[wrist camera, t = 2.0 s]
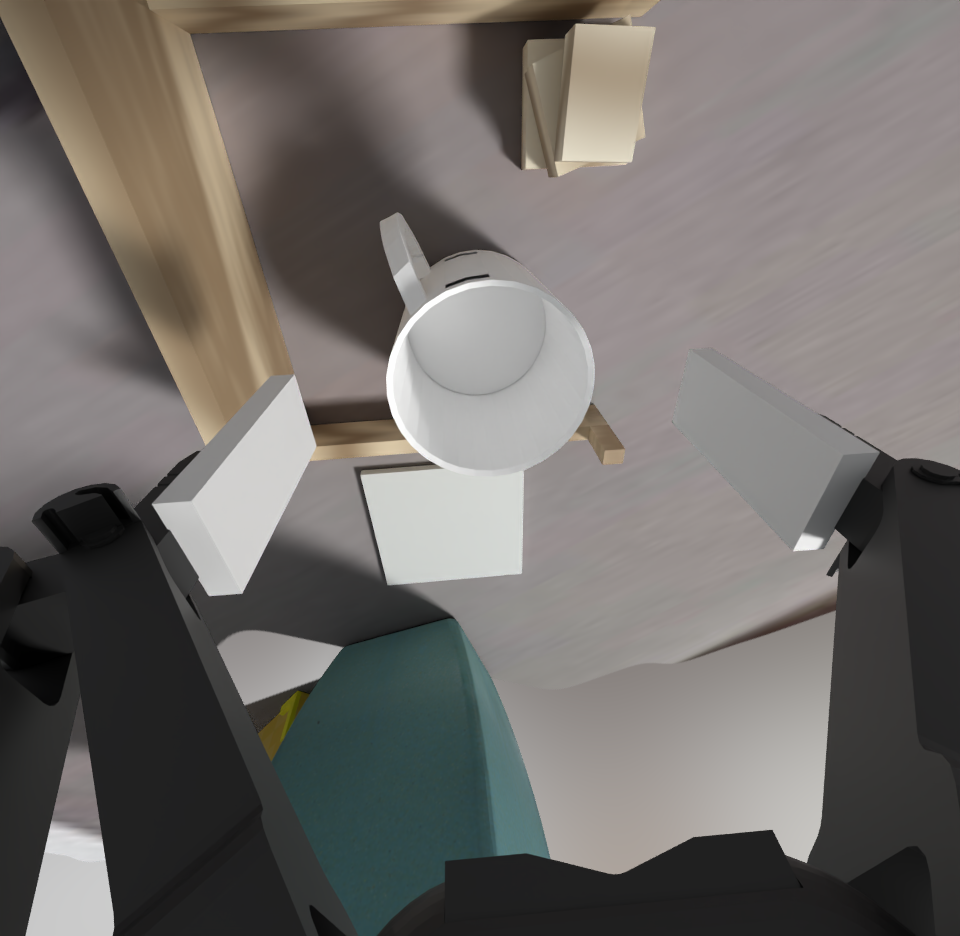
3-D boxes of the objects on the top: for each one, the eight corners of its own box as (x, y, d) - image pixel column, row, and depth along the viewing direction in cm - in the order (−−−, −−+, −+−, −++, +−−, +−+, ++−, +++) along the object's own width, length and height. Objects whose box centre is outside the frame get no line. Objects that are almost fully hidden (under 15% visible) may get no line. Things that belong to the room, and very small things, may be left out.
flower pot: (281, 632, 41) (66, 1234, 17) (475, 577, 38) (528, 1185, 15) (374, 722, 52) (319, 1165, 28) (530, 683, 49) (609, 1131, 26)
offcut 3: (619, 162, 19) (631, 161, 18) (553, 161, 19) (562, 160, 17) (639, 38, 17) (655, 27, 15) (565, 35, 16) (575, 23, 15)
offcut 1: (519, 170, 22) (525, 169, 20) (520, 52, 20) (528, 39, 18) (612, 166, 22) (626, 164, 21) (626, 48, 20) (643, 35, 18)
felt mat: (388, 580, 38) (387, 585, 37) (361, 470, 31) (360, 475, 30) (520, 568, 38) (521, 573, 38) (522, 457, 31) (523, 462, 31)
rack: (294, 439, 29) (219, 570, 19) (147, 0, 17) (-246, -245, 7) (592, 417, 30) (667, 532, 20) (645, -17, 18) (889, -260, 8)
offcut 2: (548, 177, 21) (558, 176, 19) (524, 74, 18) (532, 63, 17) (628, 140, 20) (645, 137, 18) (613, 29, 18) (630, 14, 16)
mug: (567, 364, 28) (616, 433, 20) (444, 418, 29) (445, 501, 21) (498, 156, 21) (530, 139, 13) (345, 239, 23) (295, 267, 15)
